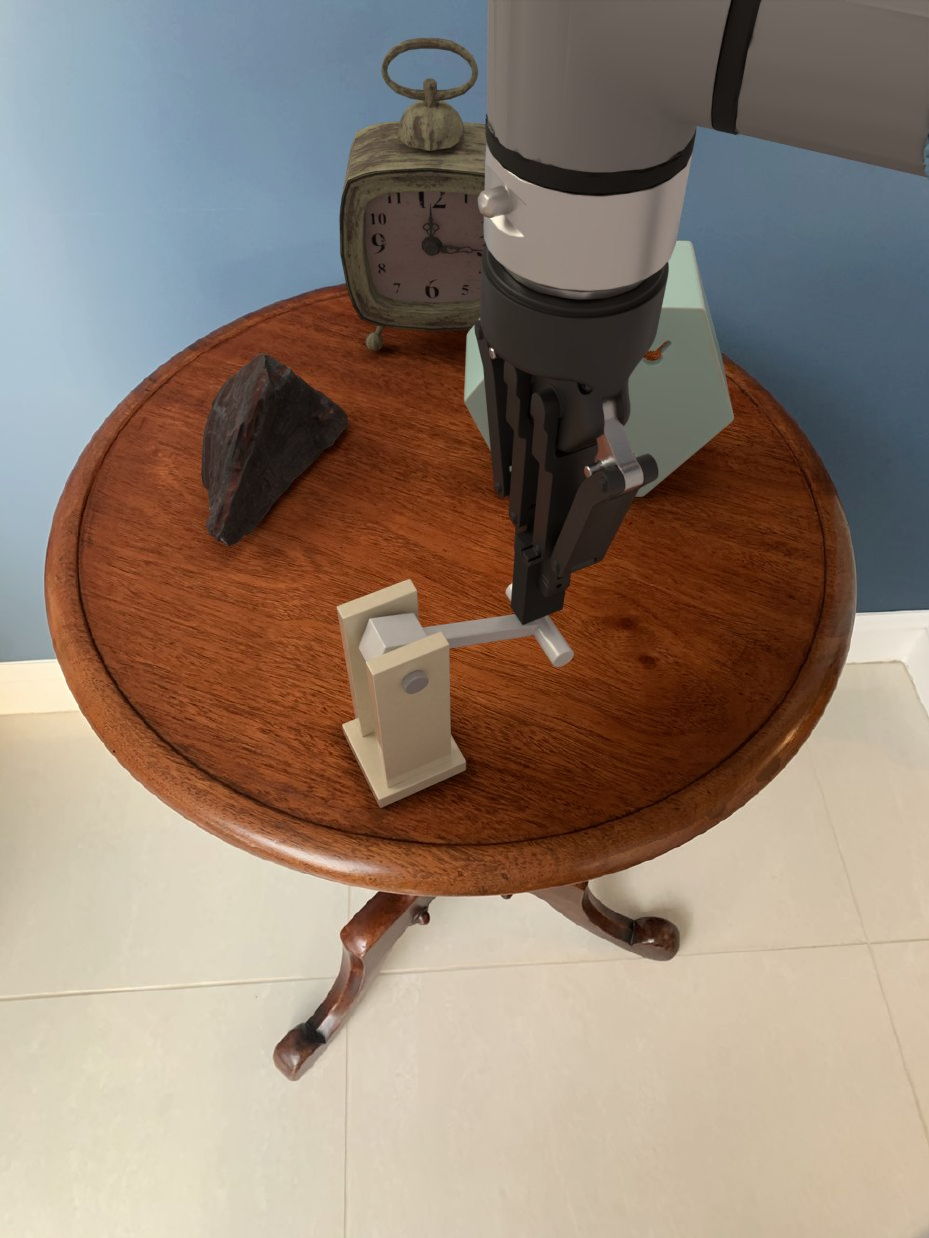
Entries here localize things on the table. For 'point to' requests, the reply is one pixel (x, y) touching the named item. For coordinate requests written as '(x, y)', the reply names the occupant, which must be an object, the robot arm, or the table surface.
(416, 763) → the faucet bracket
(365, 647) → the faucet handle
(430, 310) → the tabletop clock
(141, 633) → the table surface
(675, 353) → the planter
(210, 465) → the rock
